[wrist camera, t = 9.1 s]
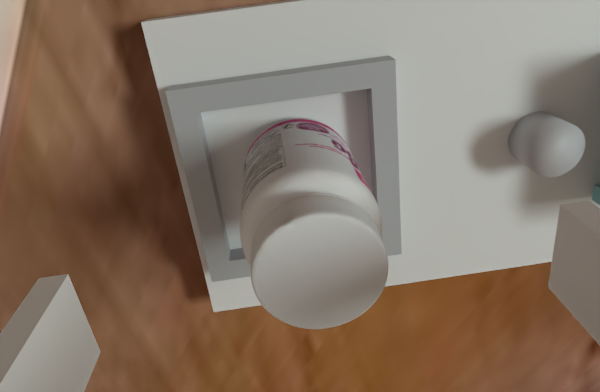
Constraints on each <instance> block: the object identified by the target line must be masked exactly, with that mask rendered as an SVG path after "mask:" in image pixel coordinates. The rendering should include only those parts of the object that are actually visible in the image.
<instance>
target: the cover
mask: <svg viewBox="0 0 600 392" xmlns="http://www.w3.org/2000/svg"><path fill="white" fill-rule="evenodd" d="M592 200H593V201H594V202H596V203H597V204H599V205H600V184H596V185H594V190H593V196H592Z"/></svg>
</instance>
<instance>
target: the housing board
mask: <svg viewBox="0 0 600 392" xmlns="http://www.w3.org/2000/svg"><path fill="white" fill-rule="evenodd" d="M141 25H142V29H143V33H144V37H145V41H146V45H147V49H148V53H149V57H150V61H151V64H152V68H153V72H154V76H155V80H156V84H157V88H158V92H159V96H160V100H161V104H162V108H163V112H164V116H165V120H166V124H167V128H168V132H169V136H170V140H171V144H172V148H173V152H174V156H175V160H176V164H177V168H178V172H179V176H180V180H181V184H182V188H183V192H184V196H185V200H186V204H187V208H188V212H189V216H190V220H191V224H192V228H193V232H194V236H195V240H196V244H197V248H198V251H199V255H200V259H201V263H202V267H203V271H204V275H205V279H206V283H207V287H208V291H209V295H210V299H211V303H212V307H213V311H214V312H218V311H225V310H231V309H238V308H245V307H251V306H258V305H261V303H260V302H259V300H258V299H257V297H256V295H255V292H254V289H253V286H252V282H251V266H250V264H249V263H248V261H247V259H246V257H245V255H244V252H243V248H242V244H241V238H240V217H241V202H242V186H243V174H244V164H245V160H246V156H247V153H248V150H249V148H250V146H251V145H252V143H253V142H254V140H255V139H256V138H257V137H258V136H259V135H260V134H261V133H262V132H263V131H264V130H265V129H267V128H268V127H270V126H271V125H273V124H275V123H277V122H279V121H282V120H285V119H290V118H309V119H314V120H317V121H320V122H322V123H324V124H326V125H328V126H330V127H331V128H332V129H334V130H335V131H336V132H337V133H338V134H339V135H340V136H341V137H342V138H343V140H344V141H345V143H346V144H347V146H348V148H349V150H350V152H351V154H352V156H353V158H354V160H355V161H356V163H357V165H358V167H359V169H360V171H361V173H362V175H363V177H364V178H365V180H366V182H367V184H368V186H369V188H370V189H371V192H372V193H373V195H374V197H375V199H376V202H377V204H378V207H379V209H380V213H381V218H382V241H383V243H384V246H385V249H386V251H387V256H388V264H389V267H388V276H387V281H386V284H385V286H392V285H399V284H405V283H412V282H419V281H425V280H432V279H439V278H446V277H452V276H459V275H466V274H472V273H479V272H486V271H492V270H499V269H506V268H512V267H519V266H526V265H533V264H539V263H546V262H552V257H553V250H554V243H555V236H556V230H557V223H558V216H559V209H560V204H566V203H573V202H580V201H587V200H589V201H590V202H592V203H593V204H594V205H596V206H597V207H598V208H600V205H599V204H597V203H596V202H594V201H593V200H592V196H593V190H594V185H596V184H600V0H286V1H279V2H271V3H264V4H256V5H249V6H242V7H234V8H227V9H219V10H212V11H205V12H197V13H190V14H182V15H175V16H168V17H160V18H153V19H148V20H145V21H143V22H141Z"/></svg>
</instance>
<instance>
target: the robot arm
mask: <svg viewBox="0 0 600 392" xmlns="http://www.w3.org/2000/svg"><path fill="white" fill-rule="evenodd" d="M548 288H549V289H550V290H551V291H552V292H553V293H554V295H555V296H556V297H557V298H558V299H559V300H560V301H561V302H562V304H563V305H564V306H565V307H566V308H567V309H568V310H569V311H570V313H571V314H572V315H573V316H574V317H575V318H576V319H577V320H578V322H579V323H580V324H581V325H582V326H583V327H584V328H585V329H586V331H587V332H588V333H589V334H590V335H591V336H592V337H593V338H594V340H595V341H596V342H597V343H598V344H599V345H600V208H598V207H597V206H596V205H594V204H593V203H592V202H590V201H589V200H587V201H580V202H573V203H566V204H560V209H559V216H558V223H557V230H556V236H555V243H554V250H553V257H552V263H551V270H550V277H549V284H548ZM99 354H100V349H99V347H98V345H97V342H96V340H95V337H94V335H93V333H92V330H91V328H90V325H89V323H88V321H87V318H86V316H85V313H84V311H83V309H82V306H81V304H80V301H79V299H78V297H77V294H76V292H75V289H74V287H73V285H72V282H71V280H70V277H69V275H68V274H66V275H59V276H52V277H45V278H39V279H38V280H37V282H36V283H35V285H34V286H33V288H32V289H31V290H30V292H29V293H28V295H27V296H26V297H25V299H24V300H23V302H22V303H21V305H20V306H19V307H18V309H17V310H16V312H15V313H14V315H13V316H12V317H11V319H10V320H9V322H8V323H7V324H6V326H5V327H4V329H3V330H2V332H1V333H0V392H84V391H85V388H86V386H87V384H88V381H89V379H90V376H91V374H92V371H93V369H94V367H95V364H96V362H97V359H98V357H99Z"/></svg>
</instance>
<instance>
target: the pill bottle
mask: <svg viewBox="0 0 600 392" xmlns="http://www.w3.org/2000/svg"><path fill="white" fill-rule="evenodd" d="M240 238H241V244H242V248H243V252H244V255H245V257H246V259H247V261H248V263H249V264H250V266H251V282H252V286H253V289H254V292H255V295H256V297H257V299H258V300H259V302H260V303H261V305H262V306H263V307H264V308H265V309H266V310H267V311H268V312H269V313H270V314H271V315H273V316H274V317H276V318H277V319H279V320H280V321H282V322H284V323H287V324H289V325H293V326H296V327H300V328H306V329H324V328H331V327H335V326H339V325H342V324H345V323H347V322H349V321H351V320H353V319H355V318H357V317H358V316H360V315H361V314H363V313H364V312H365V311H367V310H368V309H369V308H370V307H371V306H372V305H373V304H374V302H375V301H376V300H377V299H378V298H379V296H380V295H381V293H382V291H383V289H384V287H385V284H386V281H387V276H388V267H389V264H388V256H387V251H386V249H385V246H384V243H383V241H382V218H381V213H380V209H379V207H378V204H377V202H376V199H375V197H374V195H373V193H372V192H371V189H370V188H369V186H368V184H367V182H366V180H365V178H364V177H363V175H362V173H361V171H360V169H359V167H358V165H357V163H356V161H355V160H354V158H353V156H352V154H351V152H350V150H349V148H348V146H347V144H346V143H345V141H344V140H343V138H342V137H341V136H340V135H339V134H338V133H337V132H336V131H335V130H334V129H332V128H331V127H330V126H328V125H326V124H324V123H322V122H320V121H317V120H314V119H309V118H290V119H285V120H282V121H279V122H277V123H275V124H273V125H271V126H270V127H268V128H267V129H265V130H264V131H263V132H262V133H261V134H260V135H259V136H258V137H257V138H256V139H255V140H254V142H253V143H252V145H251V146H250V148H249V150H248V153H247V156H246V160H245V164H244V174H243V186H242V202H241V217H240Z"/></svg>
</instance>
